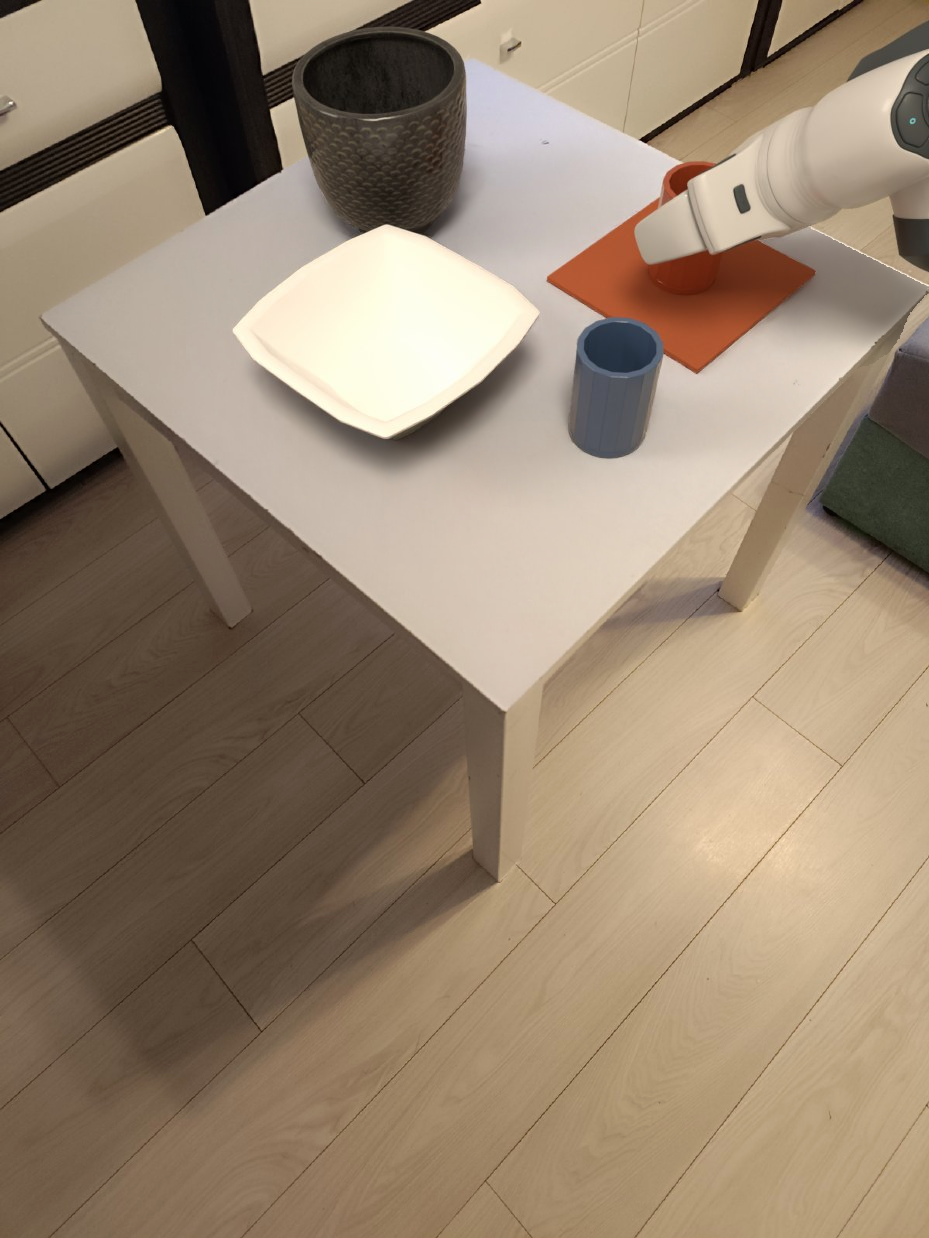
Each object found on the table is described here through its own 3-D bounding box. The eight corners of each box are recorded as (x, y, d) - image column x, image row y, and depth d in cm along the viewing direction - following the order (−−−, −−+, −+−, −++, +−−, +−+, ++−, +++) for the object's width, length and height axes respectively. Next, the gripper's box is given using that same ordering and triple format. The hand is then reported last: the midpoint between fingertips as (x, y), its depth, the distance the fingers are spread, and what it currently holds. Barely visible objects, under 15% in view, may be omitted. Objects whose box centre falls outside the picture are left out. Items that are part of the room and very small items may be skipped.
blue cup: (646, 403, 82) (663, 319, 74) (645, 461, 79) (663, 379, 70) (570, 399, 83) (579, 315, 74) (566, 456, 79) (575, 374, 71)
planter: (397, 155, 104) (382, 8, 90) (501, 214, 98) (502, 65, 84) (288, 222, 98) (254, 75, 84) (391, 289, 92) (373, 142, 78)
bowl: (399, 518, 76) (388, 455, 69) (234, 396, 84) (209, 327, 77) (557, 382, 84) (562, 312, 77) (392, 282, 92) (383, 210, 85)
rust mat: (814, 275, 91) (816, 270, 90) (696, 374, 84) (698, 369, 83) (665, 196, 98) (666, 191, 98) (546, 281, 92) (546, 276, 91)
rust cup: (730, 271, 90) (755, 182, 82) (687, 305, 88) (708, 216, 79) (676, 241, 93) (694, 152, 85) (633, 273, 91) (647, 184, 82)
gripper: (862, 99, 75) (755, 155, 88) (681, 183, 70) (595, 229, 83) (881, 173, 77) (773, 217, 90) (706, 259, 72) (619, 293, 84)
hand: (687, 223), depth 86 cm, fingers open, 8 cm apart
